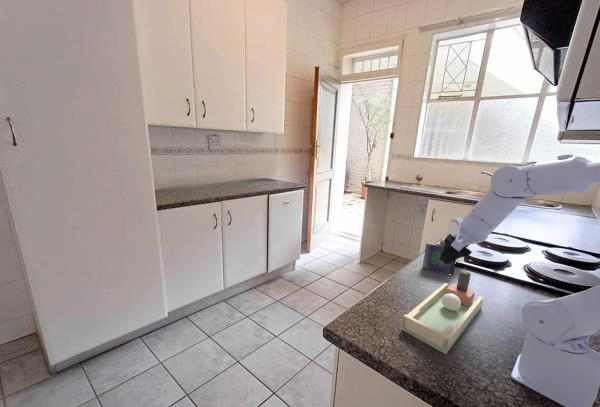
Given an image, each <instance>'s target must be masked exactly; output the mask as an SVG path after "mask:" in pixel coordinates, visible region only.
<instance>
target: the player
mask: <svg viewBox="0 0 600 407" xmlns="http://www.w3.org/2000/svg"><path fill="white" fill-rule="evenodd" d="M470 280H471V273H470V271H469V272H468V271H466V270H459V273H458V277H457V284H455V283H452V284H450V286H449V285H448V288H447V292H446V294H448V293H452V294H455V295H456V296H458V297H459V299H460V301H461V304H463V305H466V306H469V305H470V304H471V302H472V301H474V296H475V291H473V290H471V289H469V285H470Z"/></svg>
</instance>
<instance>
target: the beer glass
mask: <svg viewBox="0 0 600 407" xmlns="http://www.w3.org/2000/svg"><path fill="white" fill-rule="evenodd" d="M456 219H457V218H455V219H453V218H452V219H450V221H449V225H448V229H447V236H448V235H449V234H451V235H452V236H454V237H455V238H456V235H457V228H458V224H456V223H455V220H456ZM447 236H446V237H447ZM466 248H467V249H468V247H466ZM464 258H465V257H461V258H458V259H456V262H458V263H462V262H464V263H465V259H464Z"/></svg>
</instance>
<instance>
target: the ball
mask: <svg viewBox="0 0 600 407" xmlns="http://www.w3.org/2000/svg"><path fill="white" fill-rule="evenodd" d="M442 304H443V306H444V307H445V308H446V309H448V310H450V311H456V310H458V309H459V308H460V306H461V301H460V299H459V297H458V296H456V295H455V294H452V293H448V294H445V295H444V296H443V298H442Z"/></svg>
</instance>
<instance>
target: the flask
mask: <svg viewBox="0 0 600 407" xmlns="http://www.w3.org/2000/svg"><path fill="white" fill-rule="evenodd" d="M444 240H445V238H444V239H439V243H437V242H429V241H427V242H426V243H425V247H424V248H425V249H424V254H423V255H424V256H423V260H422V266H421V267H422V268H423V269H425V270H426V269H427V270H426V271H431V270H433V271H432V272H434V271H438V272H437V273H440V272H442V273H441V274H444V273H446V274H445V275H448V274H451V275H450V276H453V275H454V274H455V268H456V266H455V264H456V260H455V261H453V262H451V263H450V264H445V263H444V262H443V261H441V260H440V256H441V253H442V251H443V249H444V245H445V242H444Z"/></svg>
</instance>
